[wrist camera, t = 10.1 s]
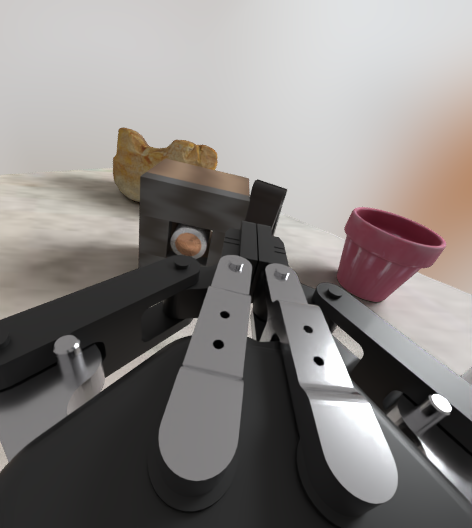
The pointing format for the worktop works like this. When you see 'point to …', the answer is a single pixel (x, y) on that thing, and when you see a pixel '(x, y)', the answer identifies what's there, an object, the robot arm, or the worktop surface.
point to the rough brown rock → (152, 159)
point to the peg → (190, 240)
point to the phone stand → (265, 204)
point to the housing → (188, 208)
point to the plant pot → (384, 252)
